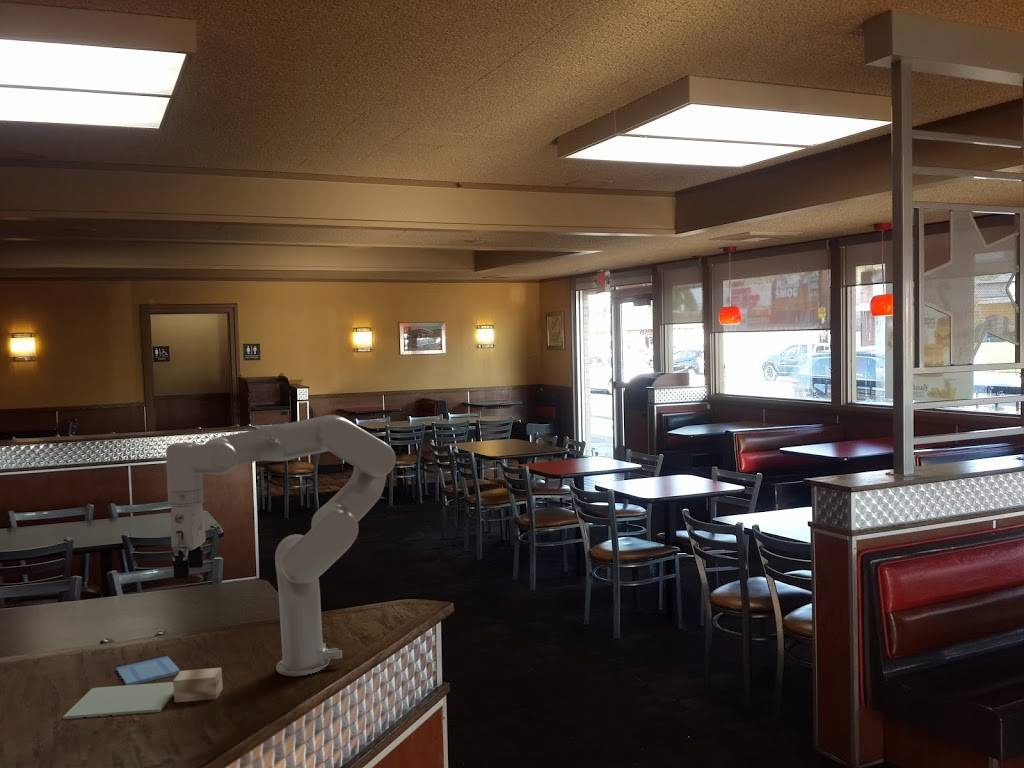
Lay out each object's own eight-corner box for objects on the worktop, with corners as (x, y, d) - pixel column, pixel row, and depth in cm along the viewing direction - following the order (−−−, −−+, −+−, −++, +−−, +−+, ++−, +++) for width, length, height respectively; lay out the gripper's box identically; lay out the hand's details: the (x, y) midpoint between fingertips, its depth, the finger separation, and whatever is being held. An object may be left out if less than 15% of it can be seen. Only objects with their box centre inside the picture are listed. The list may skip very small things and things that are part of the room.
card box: (222, 689, 204) (221, 667, 204) (216, 699, 198) (215, 677, 198) (181, 692, 203) (180, 670, 203) (174, 703, 197) (173, 680, 197)
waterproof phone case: (181, 675, 215) (180, 670, 215) (127, 688, 208) (126, 683, 208) (167, 660, 226) (167, 655, 226) (116, 672, 219) (116, 667, 219)
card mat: (181, 683, 208) (181, 681, 208) (160, 711, 192) (159, 709, 192) (92, 690, 207) (92, 687, 206) (63, 719, 191) (62, 716, 191)
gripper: (189, 503, 195) (193, 581, 196) (213, 491, 213) (217, 563, 213) (155, 504, 195) (158, 583, 196) (181, 492, 212) (185, 564, 213)
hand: (189, 572), depth 205 cm, fingers open, 9 cm apart
